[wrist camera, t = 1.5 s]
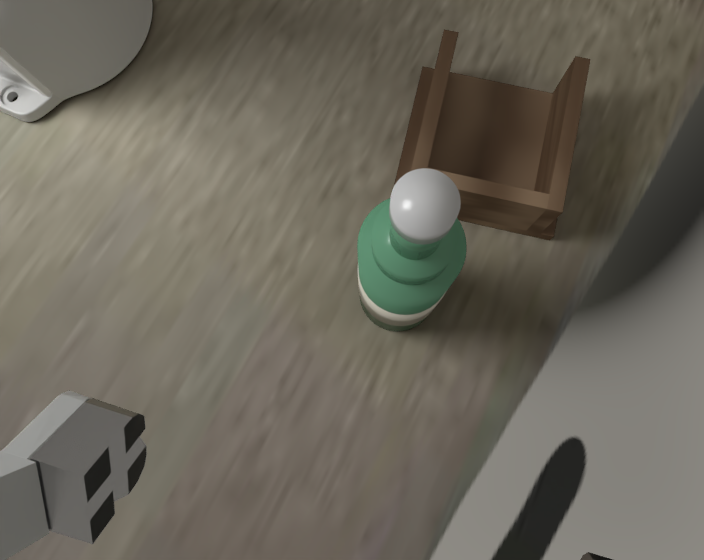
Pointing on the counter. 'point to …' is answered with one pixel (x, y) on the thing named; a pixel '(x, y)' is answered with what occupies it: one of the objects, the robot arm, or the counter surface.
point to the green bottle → (410, 250)
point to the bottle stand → (497, 143)
